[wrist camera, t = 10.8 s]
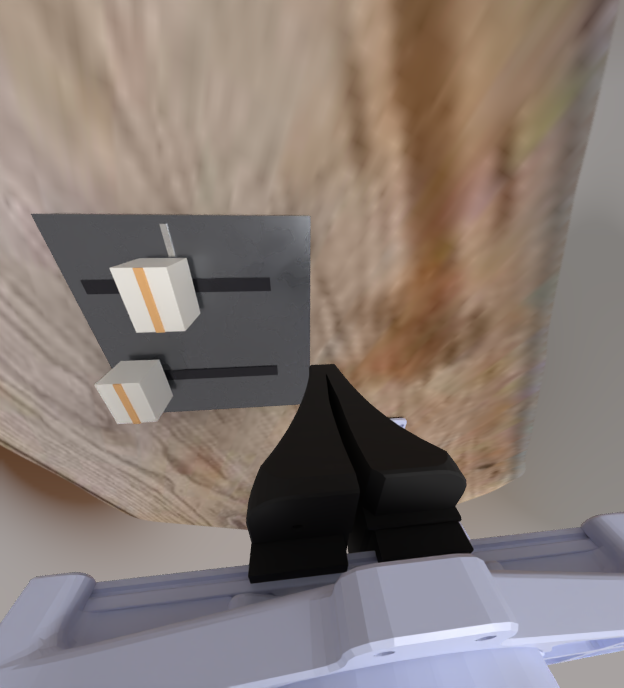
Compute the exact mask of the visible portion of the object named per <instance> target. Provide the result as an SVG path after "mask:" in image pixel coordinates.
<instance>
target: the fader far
mask: <svg viewBox="0 0 624 688" xmlns="http://www.w3.org/2000/svg"><path fill="white" fill-rule="evenodd" d="M95 387H96V389H97V390H98V392H99V394H100V395H101V397H102V399H103V400H104V402H105V404H106V405H107V407H108V409H109V410H110V412H111V414H112V415H113V417H114V419H115V420H116V422H117V424H125V423H133V424H140V423H141V422H157V421H158V420H159V418H160V416H161V415H162V413H163V412H164V410H165V408H166V407H167V405H168V403H169V402H170V400H171V399H172V397H173V394H172V391H171V389H170V386H169V383H168V381H167V378H166V376H165V373H164V371H163V368H162V365H161V363H160V360H135V361H120V362H119V363H118V364H117V365H116V366H115V367H114V368H113V369H111V370H110V371H109V372H108V373H107V374H106V375H105V376H104V377H103V378H101V379H100V380H99V381H98V382H97V383H96V384H95Z"/></svg>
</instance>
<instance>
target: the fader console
mask: <svg viewBox="0 0 624 688" xmlns="http://www.w3.org/2000/svg"><path fill="white" fill-rule="evenodd" d="M31 215H32V217H33V219H34V221H35V223H36V225H37V227H38V228H39V230H40V232H41V234H42V236H43V238H44V240H45V242H46V244H47V246H48V247H49V249H50V251H51V253H52V255H53V257H54V259H55V261H56V263H57V265H58V267H59V268H60V270H61V272H62V274H63V276H64V278H65V280H66V282H67V284H68V286H69V288H70V289H71V291H72V293H73V295H74V297H75V299H76V301H77V303H78V305H79V307H80V308H81V310H82V312H83V314H84V316H85V318H86V320H87V322H88V324H89V326H90V328H91V329H92V331H93V333H94V335H95V337H96V339H97V341H98V343H99V345H100V347H101V348H102V350H103V352H104V354H105V356H106V358H107V360H108V362H109V364H110V366H111V368H112V369H113V368H114V367H115V366H116V365H117V364H118V363H119V362H120V361H135V360H160V363H161V365H162V368H163V371H164V373H165V376H166V378H167V381H168V383H169V386H170V389H171V391H172V394H173V397H172V399H171V400H170V402H169V403H168V405H167V407H166V408H165V410H164V412H178V411H195V410H212V409H229V408H246V407H263V406H279V405H296V404H301V402H302V399H303V396H304V393H305V390H306V387H307V383H308V379H309V367H310V216H287V215H161V214H31ZM138 258H187V261H188V265H189V269H190V273H191V277H192V281H193V285H194V289H195V293H196V297H197V301H198V305H199V309H200V315H199V316H198V317H197V318H196V319H195V320H194V322H193V323H192V324H191V325H190V326H189V327H188V329H187V330H186V331H173V332H163V333H156V332H142V333H136V331H135V328H134V326H133V323H132V321H131V319H130V316H129V314H128V312H127V309H126V307H125V304H124V302H123V300H122V297H121V295H120V292H119V290H118V288H117V285H116V283H115V281H114V278H113V276H112V273H111V271H110V269H109V268H110V267H114V266H117V265H120V264H123V263H126V262H129V261H132V260H135V259H138Z"/></svg>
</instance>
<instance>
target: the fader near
mask: <svg viewBox="0 0 624 688" xmlns="http://www.w3.org/2000/svg"><path fill="white" fill-rule="evenodd" d="M109 269H110V271H111V273H112V276H113V278H114V281H115V283H116V285H117V288H118V290H119V292H120V295H121V297H122V300H123V302H124V304H125V307H126V309H127V312H128V314H129V316H130V319H131V321H132V323H133V326H134V328H135V331H136V333H142V332H156V333H163V332H173V331H186V330H187V329H188V327H189V326H190V325H191V324H192V323H193V322H194V320H195V319H196V318H197V317H198V316H199V315H200V309H199V305H198V301H197V297H196V293H195V289H194V285H193V281H192V277H191V273H190V269H189V265H188V261H187V258H138V259H135V260H132V261H129V262H126V263H123V264H120V265H117V266H114V267H110V268H109Z"/></svg>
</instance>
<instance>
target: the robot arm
mask: <svg viewBox="0 0 624 688" xmlns="http://www.w3.org/2000/svg"><path fill="white" fill-rule="evenodd" d="M406 423H407V421H406V419H405V418H392V419H389V418H388V417H386V416H385V415H384V414H382V413H381V412H380V411H378V410H377V409H376V408H375V407H374V406H372V405H371V404H370V403H369V402H368V401H367V400H366V399H365V398H364V397H363V396H362V395H361V394H360V393H359V392H358V391H357V390H356V389H355V388H354V387H353V386H352V385H351V384H350V383H349V381H348V380H347V379H346V378H345V377H344V376H343V374H342V373H341V372H340V371H339V369H338V368H337V367H336V365H335V364H325V365H311V366H310V367H309V379H308V383H307V387H306V390H305V393H304V396H303V399H302V402H301V404H300V406H299V409H298V411H297V413H296V415H295V417H294V419H293V421H292V423H291V424H290V426H289V428H288V430H287V431H286V433H285V434H284V436H283V437H282V439H281V440H280V442H279V443H278V445H277V446H276V448H275V449H274V450H273V452H272V453H271V454H270V455H269V457H268V458H267V459H266V460H265V461H264V463H263V464H262V465H261V467H260V469H259V471H258V474H257V476H256V479H255V481H254V484H253V487H252V490H251V494H250V498H249V502H248V509H247V517H246V524H247V528H248V531H249V535H250V538H251V542H252V544H251V553H250V563H249V565H244V566H235V567H226V568H217V569H209V570H200V571H191V572H182V573H173V574H165V575H156V576H148V577H138V578H130V579H121V580H112V581H104V582H96V581H95V580H94V578H93V577H92V576H90V575H88V574H86V573H80V572H72V573H63V574H54V575H45V576H36V577H35V578H33V579H31V580H30V581H29V583H28V585H27V586H26V587H25V589H24V590H23V592H22V593H21V594H20V596H19V597H18V599H17V600H16V602H15V603H14V605H13V606H12V607H11V609H10V610H9V612H8V613H7V614H6V616H5V618H4V619H3V620H2V622H1V623H0V688H560V687H559V685H558V683H557V682H556V680H555V678H554V677H553V675H552V673H551V671H550V669H549V668H548V666H547V665H550V664H556V663H561V662H565V661H571V660H576V659H581V658H587V657H592V656H597V655H602V654H608V653H613V652H618V651H624V512H617V513H608V514H600V515H596V516H593V517H591V518H589V519H587V520H586V521H585V522H583V523H582V524H581V527H576V528H567V529H560V530H550V531H542V532H533V533H524V534H516V535H506V536H497V537H489V538H480V539H471V540H470V538H469V536H468V534H467V533H466V531H465V529H464V527H463V526H462V524H461V523H460V521H461V516H460V514H459V512H458V510H457V509H456V507H455V506H456V504H457V503H458V501H459V499H460V498H461V496H462V495H463V493H464V491H465V488H466V479H465V477H464V476H463V474H462V473H461V471H460V470H459V468H458V466H457V465H456V463H455V462H454V461H453V459H452V458H451V457H450V455H449V454H448V453H447V451H445V450H443V449H441V448H439V447H437V446H435V445H433V444H431V443H429V442H427V441H425V440H423V439H421V438H419V437H417V436H416V435H414V434H412V433H411V432H409V431H407V430H406V429H405V426H406ZM347 545H348V552H349V554H347V553H346V550H347Z"/></svg>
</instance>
